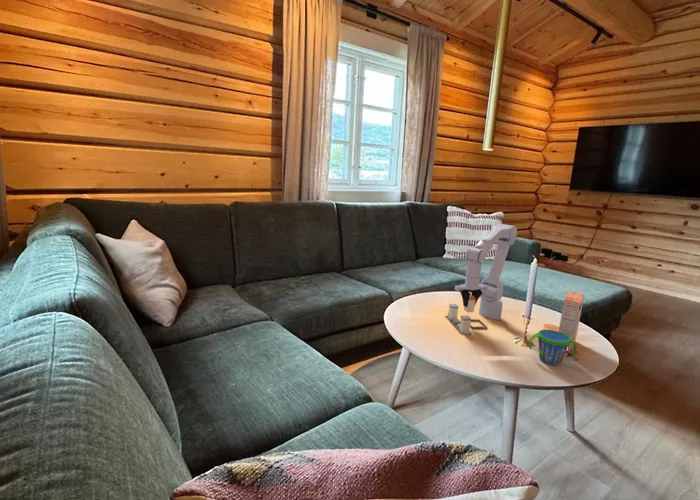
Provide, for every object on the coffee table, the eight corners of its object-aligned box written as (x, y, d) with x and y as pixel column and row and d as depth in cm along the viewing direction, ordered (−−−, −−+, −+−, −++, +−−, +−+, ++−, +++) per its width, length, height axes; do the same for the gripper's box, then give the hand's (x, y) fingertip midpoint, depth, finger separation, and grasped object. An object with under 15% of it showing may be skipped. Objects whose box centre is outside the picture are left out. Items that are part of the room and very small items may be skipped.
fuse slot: (465, 329, 160) (467, 315, 159) (469, 333, 157) (471, 318, 156) (459, 329, 160) (461, 315, 158) (462, 333, 157) (464, 318, 155)
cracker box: (559, 336, 162) (568, 290, 157) (575, 341, 158) (585, 293, 153) (553, 348, 150) (563, 299, 146) (571, 353, 147) (581, 303, 142)
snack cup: (527, 362, 139) (531, 336, 136) (526, 349, 148) (530, 325, 146) (575, 373, 133) (581, 346, 131) (571, 359, 143) (576, 334, 140)
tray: (478, 323, 170) (479, 319, 170) (486, 331, 163) (487, 327, 162) (463, 323, 170) (464, 319, 169) (471, 331, 162) (471, 327, 161)
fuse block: (454, 318, 175) (455, 313, 174) (472, 337, 156) (473, 331, 156) (444, 318, 174) (444, 313, 173) (460, 337, 156) (461, 332, 155)
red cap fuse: (469, 309, 165) (471, 295, 164) (473, 311, 163) (475, 297, 161) (463, 309, 165) (465, 295, 163) (467, 312, 162) (469, 298, 160)
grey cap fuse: (454, 317, 173) (455, 303, 171) (456, 320, 170) (458, 306, 168) (447, 317, 172) (449, 303, 171) (450, 320, 169) (452, 306, 168)
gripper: (482, 272, 166) (478, 301, 169) (452, 273, 162) (449, 303, 165) (492, 277, 159) (487, 307, 162) (461, 278, 156) (457, 309, 159)
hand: (468, 306), depth 163 cm, fingers closed on red cap fuse, 3 cm apart
